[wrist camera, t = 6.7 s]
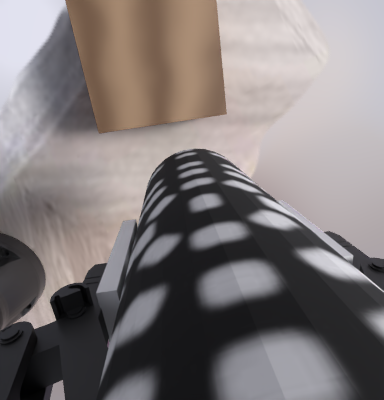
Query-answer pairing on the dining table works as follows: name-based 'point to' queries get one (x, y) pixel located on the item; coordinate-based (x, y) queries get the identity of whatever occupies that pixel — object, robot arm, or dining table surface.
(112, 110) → the wooden bridge block
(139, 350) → the spotted tube
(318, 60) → the dining table surface
